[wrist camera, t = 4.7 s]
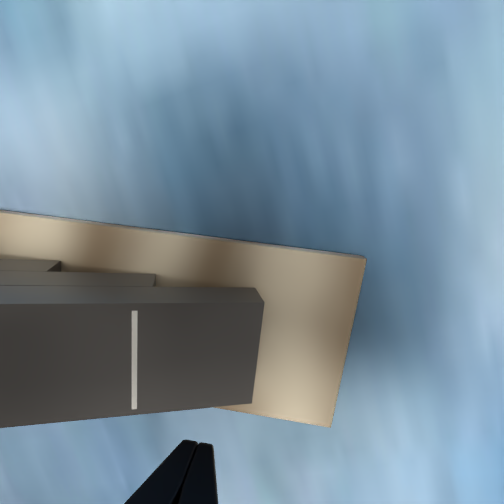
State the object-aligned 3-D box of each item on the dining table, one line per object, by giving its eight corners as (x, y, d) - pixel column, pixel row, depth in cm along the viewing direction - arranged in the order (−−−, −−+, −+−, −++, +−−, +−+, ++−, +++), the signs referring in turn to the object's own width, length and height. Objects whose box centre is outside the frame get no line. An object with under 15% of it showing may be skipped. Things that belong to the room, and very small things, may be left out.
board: (363, 255, 13) (366, 259, 13) (328, 418, 15) (330, 427, 15) (-144, 191, 15) (-161, 192, 15) (-109, 343, 17) (-122, 349, 17)
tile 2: (153, 286, 12) (-159, 283, 10) (150, 386, 14) (-127, 406, 11) (156, 273, 14) (-114, 267, 11) (153, 364, 15) (-89, 377, 13)
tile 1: (264, 302, 12) (-31, 304, 9) (252, 403, 13) (-12, 429, 11) (255, 287, 13) (-2, 285, 11) (244, 379, 15) (12, 396, 12)
